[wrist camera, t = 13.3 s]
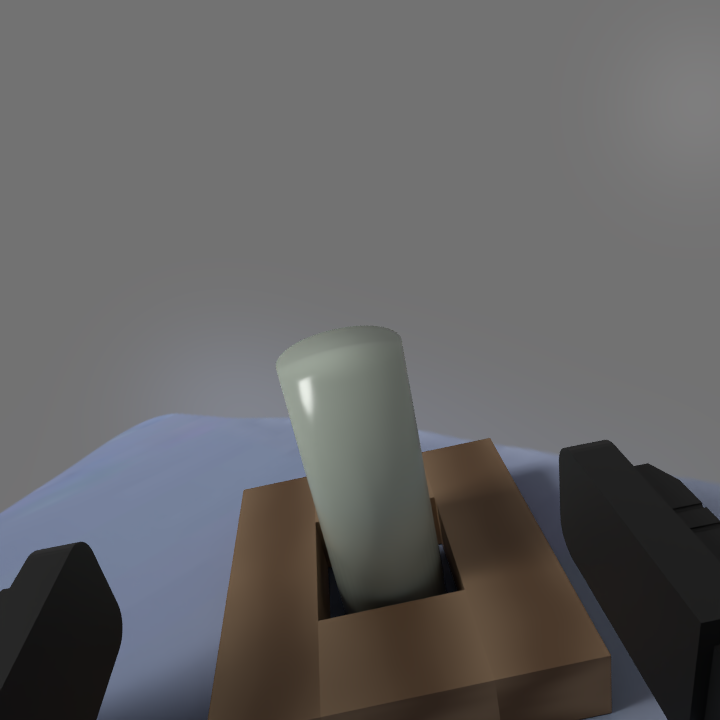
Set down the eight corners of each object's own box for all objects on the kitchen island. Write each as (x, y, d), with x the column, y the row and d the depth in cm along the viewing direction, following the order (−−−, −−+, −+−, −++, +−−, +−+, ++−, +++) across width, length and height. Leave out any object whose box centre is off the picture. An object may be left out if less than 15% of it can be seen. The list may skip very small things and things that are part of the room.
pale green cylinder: (349, 657, 25) (272, 393, 20) (342, 575, 29) (278, 341, 24) (459, 634, 25) (411, 363, 20) (435, 555, 29) (392, 316, 24)
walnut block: (229, 793, 21) (204, 741, 20) (257, 531, 34) (243, 489, 32) (611, 712, 21) (610, 655, 20) (495, 481, 34) (490, 437, 32)
